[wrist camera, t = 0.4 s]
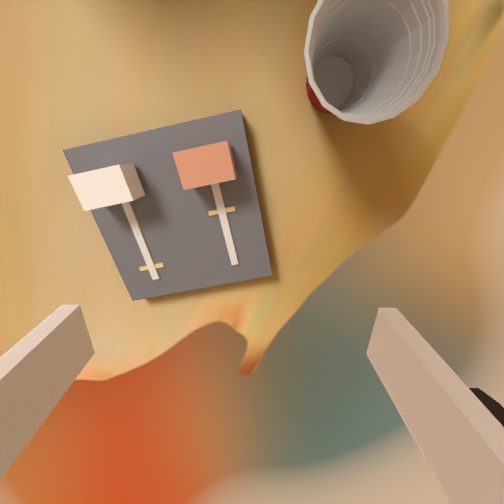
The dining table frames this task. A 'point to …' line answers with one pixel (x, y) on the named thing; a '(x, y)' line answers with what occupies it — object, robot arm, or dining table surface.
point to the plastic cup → (373, 55)
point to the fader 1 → (107, 186)
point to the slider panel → (180, 211)
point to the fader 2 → (205, 165)
